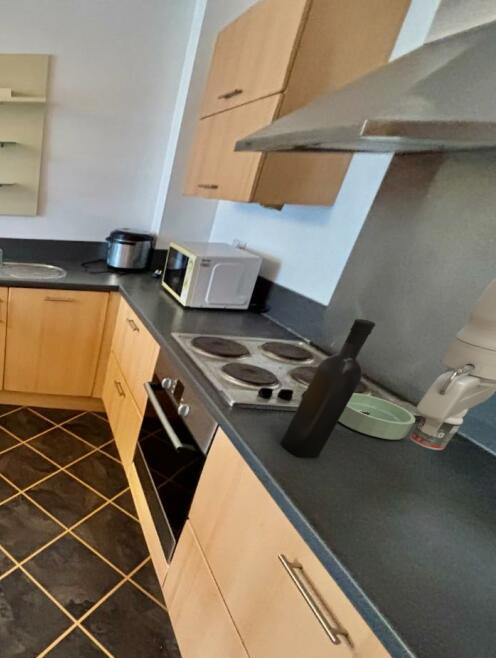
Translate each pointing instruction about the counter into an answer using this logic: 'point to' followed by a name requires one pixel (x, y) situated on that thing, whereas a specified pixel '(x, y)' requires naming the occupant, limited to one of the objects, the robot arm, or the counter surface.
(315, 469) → the counter surface
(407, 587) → the counter surface
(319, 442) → the wine bottle
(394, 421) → the bowl
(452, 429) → the pill bottle
